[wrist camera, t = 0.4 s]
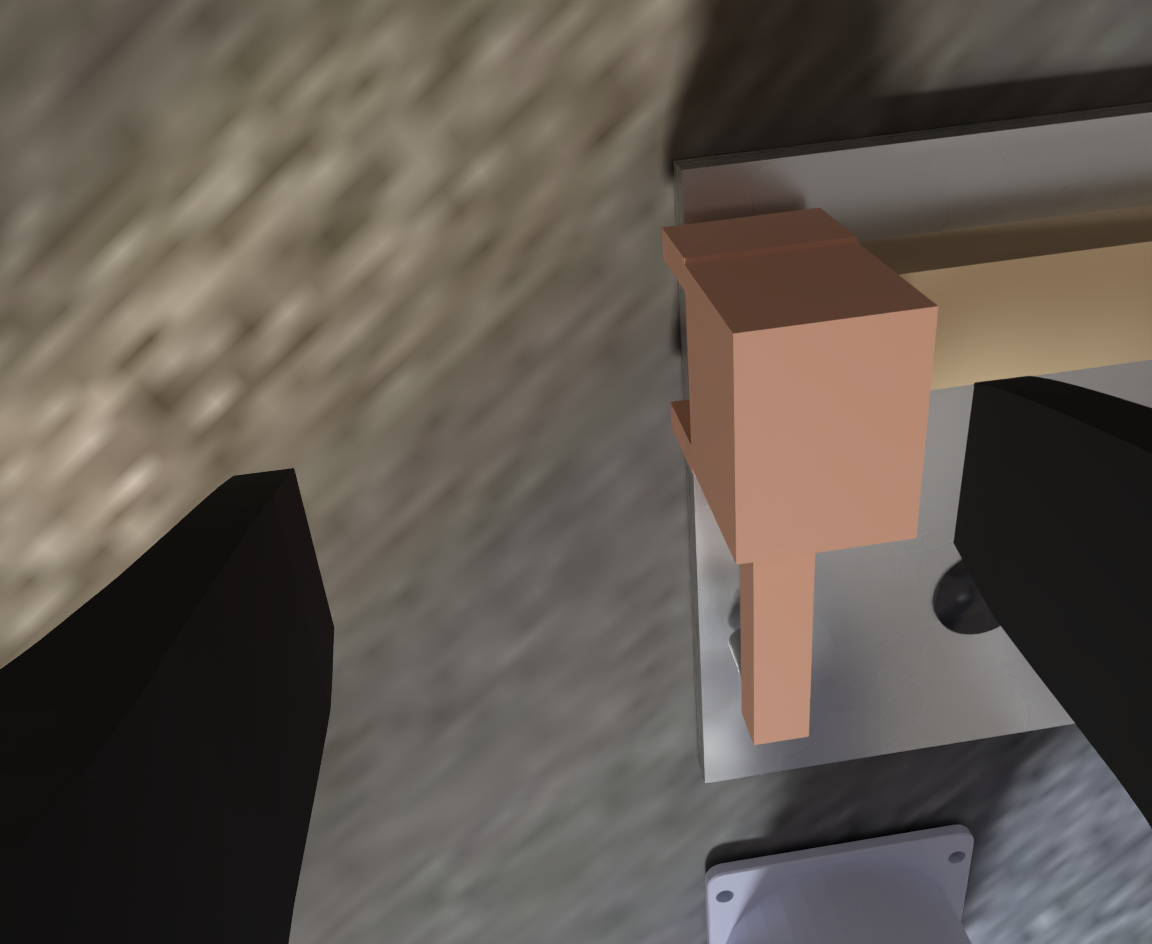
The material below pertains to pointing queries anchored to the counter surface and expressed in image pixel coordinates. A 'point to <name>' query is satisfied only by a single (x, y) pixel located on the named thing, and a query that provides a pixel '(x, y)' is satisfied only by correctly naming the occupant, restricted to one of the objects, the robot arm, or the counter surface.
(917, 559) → the flange plate
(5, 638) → the counter surface
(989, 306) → the bar
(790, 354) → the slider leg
